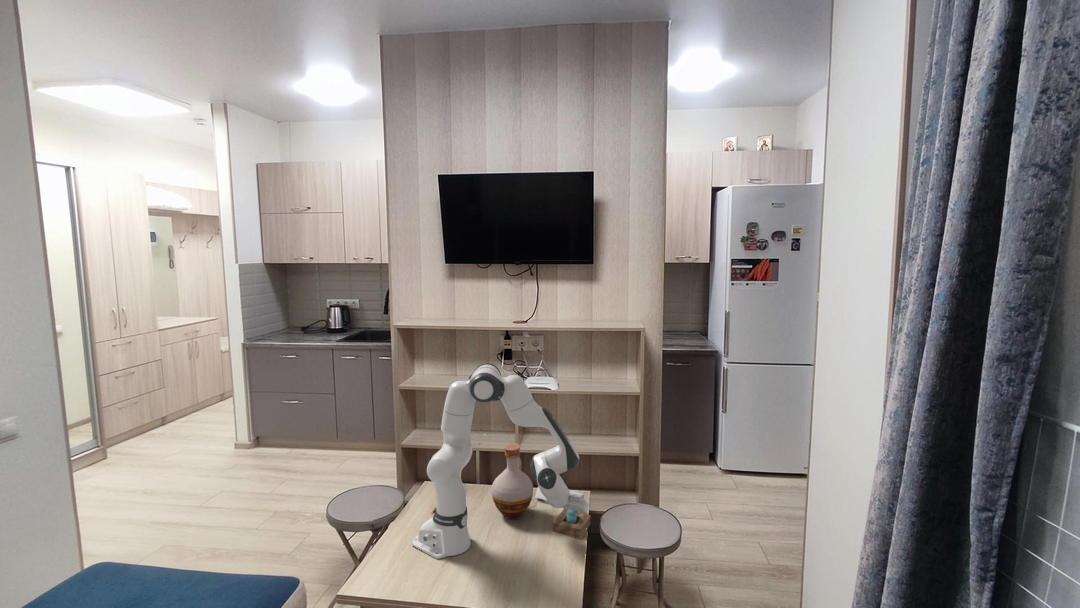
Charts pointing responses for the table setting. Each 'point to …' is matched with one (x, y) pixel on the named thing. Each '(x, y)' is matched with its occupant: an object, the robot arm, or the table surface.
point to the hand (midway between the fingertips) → (566, 507)
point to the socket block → (571, 524)
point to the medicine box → (576, 495)
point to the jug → (512, 486)
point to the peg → (571, 516)
